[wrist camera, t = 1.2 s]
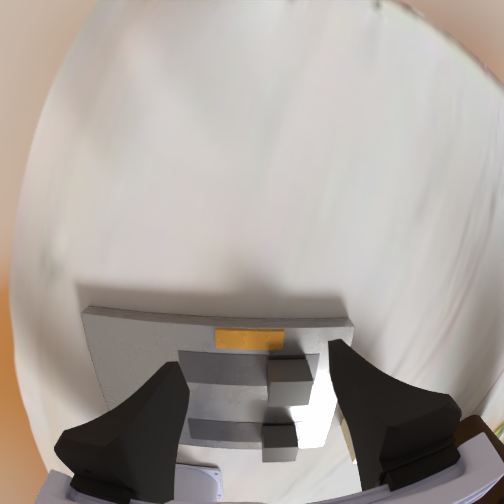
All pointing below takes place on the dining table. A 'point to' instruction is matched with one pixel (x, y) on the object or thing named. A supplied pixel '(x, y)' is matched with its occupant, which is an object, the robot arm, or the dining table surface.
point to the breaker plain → (279, 443)
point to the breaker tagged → (289, 383)
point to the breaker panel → (218, 369)
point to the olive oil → (500, 495)
